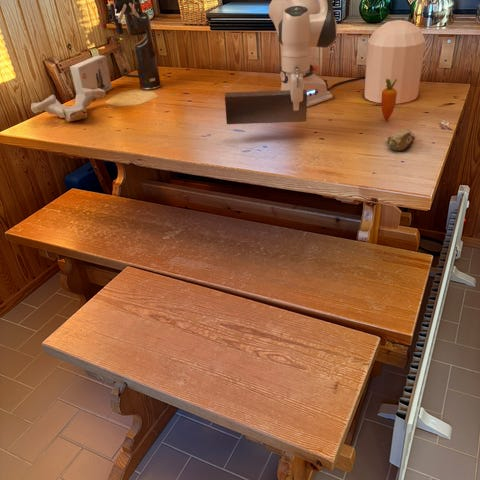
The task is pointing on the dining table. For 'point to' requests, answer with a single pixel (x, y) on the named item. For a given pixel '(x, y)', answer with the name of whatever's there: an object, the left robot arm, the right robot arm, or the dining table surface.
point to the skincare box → (91, 74)
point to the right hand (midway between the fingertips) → (295, 106)
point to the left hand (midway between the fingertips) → (129, 31)
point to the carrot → (388, 99)
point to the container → (394, 61)
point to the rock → (400, 140)
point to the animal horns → (72, 111)
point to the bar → (263, 107)
